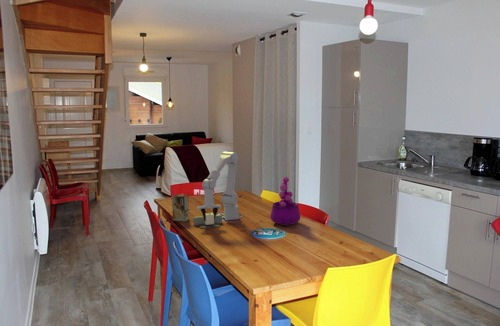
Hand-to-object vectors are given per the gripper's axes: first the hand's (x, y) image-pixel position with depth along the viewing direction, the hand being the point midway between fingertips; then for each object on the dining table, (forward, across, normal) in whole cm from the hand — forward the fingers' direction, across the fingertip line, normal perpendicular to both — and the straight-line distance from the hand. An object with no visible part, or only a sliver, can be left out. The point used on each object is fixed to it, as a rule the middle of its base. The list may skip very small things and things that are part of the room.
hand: (209, 220), depth 257 cm
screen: (+4, 0, +5) cm, 6 cm away
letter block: (+2, 0, 0) cm, 2 cm away
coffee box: (+4, -15, +19) cm, 25 cm away
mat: (+4, 0, 0) cm, 4 cm away
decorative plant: (+4, +47, -8) cm, 48 cm away
